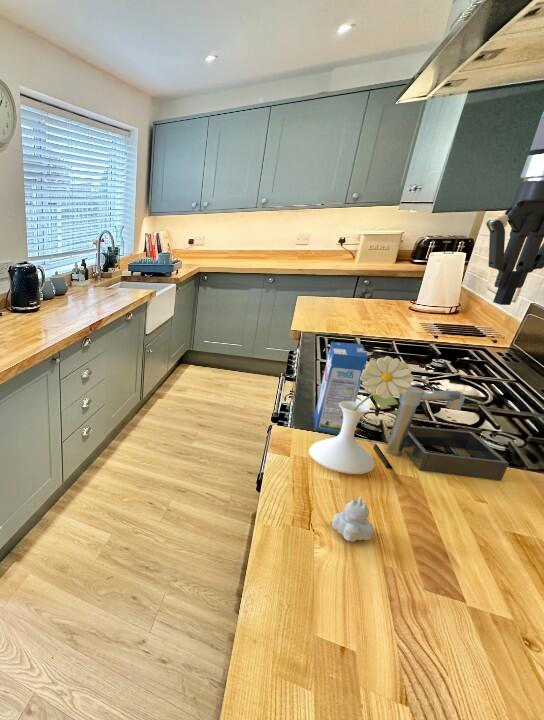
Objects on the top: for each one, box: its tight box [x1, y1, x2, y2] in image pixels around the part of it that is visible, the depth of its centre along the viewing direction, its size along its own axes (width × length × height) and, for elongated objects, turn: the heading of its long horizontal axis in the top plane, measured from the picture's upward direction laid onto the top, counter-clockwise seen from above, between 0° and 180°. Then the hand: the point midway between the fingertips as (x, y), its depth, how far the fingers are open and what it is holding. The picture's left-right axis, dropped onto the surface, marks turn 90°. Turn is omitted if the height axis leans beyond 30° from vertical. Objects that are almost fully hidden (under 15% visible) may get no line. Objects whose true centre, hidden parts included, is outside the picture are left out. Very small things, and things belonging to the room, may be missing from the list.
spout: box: [398, 386, 466, 411], centre depth 84 cm, size 11×3×4 cm, turn 80°
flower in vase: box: [308, 355, 414, 475], centre depth 84 cm, size 13×11×25 cm
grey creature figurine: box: [331, 496, 374, 543], centre depth 69 cm, size 5×7×8 cm
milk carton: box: [314, 341, 369, 435], centre depth 101 cm, size 10×6×20 cm, turn 149°
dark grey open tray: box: [402, 425, 510, 482], centre depth 86 cm, size 12×12×6 cm
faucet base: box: [373, 402, 418, 469], centre depth 87 cm, size 4×8×13 cm, turn 159°
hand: (501, 303), depth 87 cm, fingers closed
